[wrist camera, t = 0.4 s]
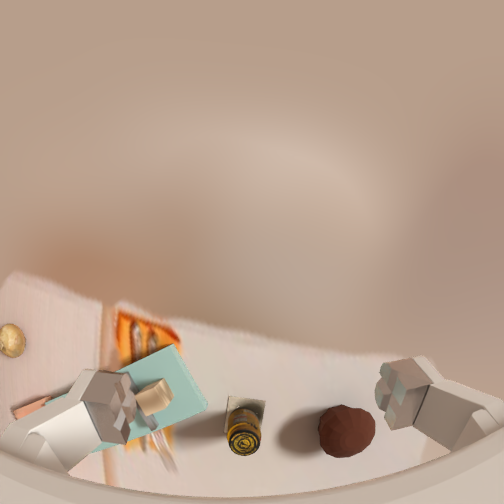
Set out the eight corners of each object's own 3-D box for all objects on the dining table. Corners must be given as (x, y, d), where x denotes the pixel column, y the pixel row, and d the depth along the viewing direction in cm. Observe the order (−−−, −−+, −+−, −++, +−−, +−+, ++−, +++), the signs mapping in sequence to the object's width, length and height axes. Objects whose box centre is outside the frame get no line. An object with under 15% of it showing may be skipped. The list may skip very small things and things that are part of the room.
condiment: (223, 432, 55) (221, 457, 43) (229, 395, 57) (227, 415, 45) (259, 436, 55) (264, 462, 43) (265, 400, 57) (272, 420, 45)
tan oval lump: (6, 323, 56) (-12, 323, 49) (28, 323, 56) (10, 323, 49) (10, 355, 54) (-8, 358, 47) (31, 357, 55) (14, 360, 48)
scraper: (185, 413, 52) (178, 428, 44) (155, 426, 51) (144, 441, 43) (153, 359, 53) (141, 366, 45) (124, 373, 52) (108, 381, 45)
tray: (84, 455, 51) (78, 460, 48) (52, 463, 50) (46, 468, 46) (50, 395, 53) (42, 398, 50) (20, 408, 52) (13, 411, 48)
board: (207, 403, 56) (206, 409, 52) (83, 451, 51) (76, 457, 48) (173, 343, 58) (169, 345, 54) (53, 399, 53) (44, 402, 49)
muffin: (307, 445, 55) (318, 465, 45) (316, 399, 57) (330, 413, 47) (357, 444, 55) (375, 462, 46) (367, 399, 58) (388, 412, 48)
